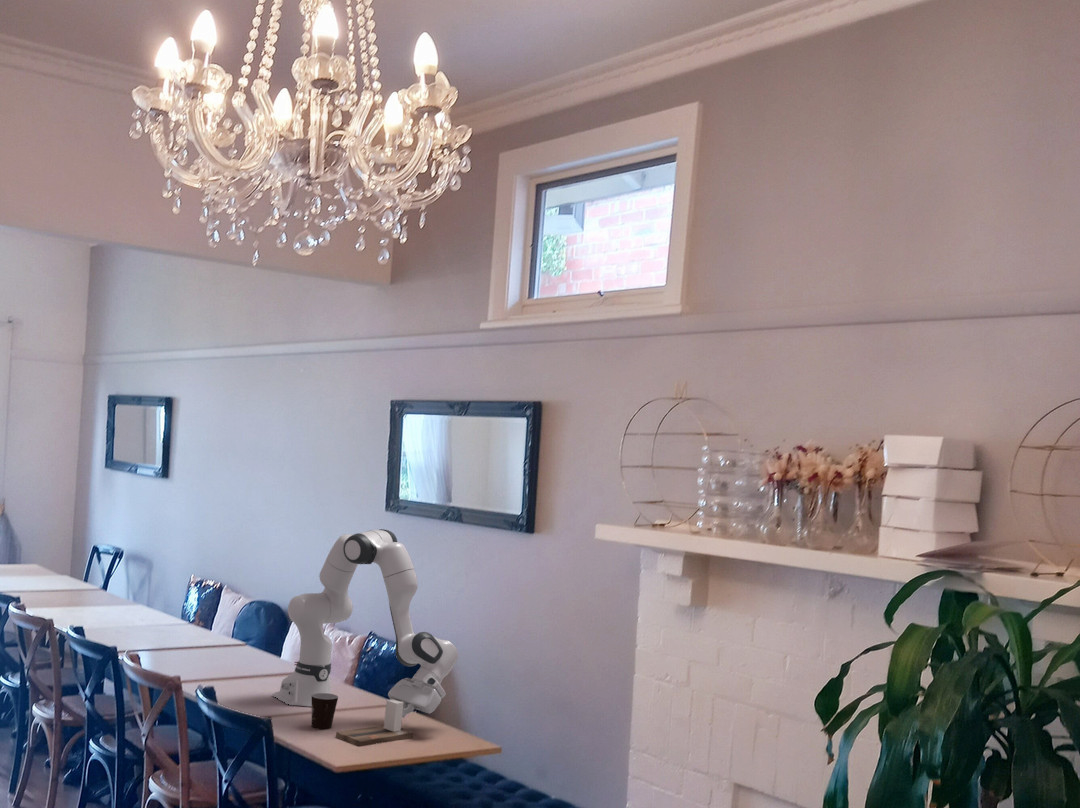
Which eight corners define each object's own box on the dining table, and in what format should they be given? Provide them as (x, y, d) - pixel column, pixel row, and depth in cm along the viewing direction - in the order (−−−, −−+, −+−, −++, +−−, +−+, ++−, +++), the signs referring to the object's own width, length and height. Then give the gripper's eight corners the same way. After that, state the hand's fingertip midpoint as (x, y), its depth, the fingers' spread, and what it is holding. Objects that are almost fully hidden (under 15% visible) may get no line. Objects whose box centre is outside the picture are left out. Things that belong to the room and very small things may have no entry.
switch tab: (383, 728, 331) (386, 700, 331) (390, 727, 333) (393, 699, 334) (393, 731, 327) (396, 703, 328) (400, 730, 330) (403, 702, 330)
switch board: (335, 736, 320) (336, 731, 321) (388, 728, 337) (389, 724, 337) (359, 746, 312) (360, 741, 313) (412, 737, 329) (413, 732, 329)
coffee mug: (312, 722, 335) (316, 691, 336) (338, 725, 334) (341, 695, 335) (301, 730, 324) (304, 699, 325) (327, 734, 323) (330, 702, 324)
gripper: (400, 670, 346) (374, 702, 338) (441, 683, 332) (415, 716, 324) (408, 682, 349) (383, 714, 341) (449, 695, 335) (424, 728, 327)
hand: (399, 715), depth 332 cm, fingers closed
